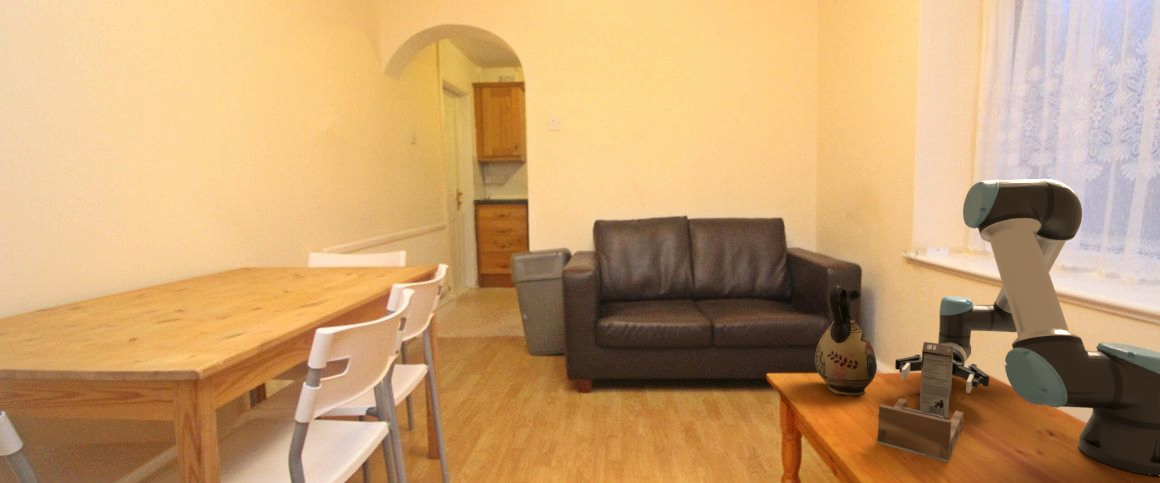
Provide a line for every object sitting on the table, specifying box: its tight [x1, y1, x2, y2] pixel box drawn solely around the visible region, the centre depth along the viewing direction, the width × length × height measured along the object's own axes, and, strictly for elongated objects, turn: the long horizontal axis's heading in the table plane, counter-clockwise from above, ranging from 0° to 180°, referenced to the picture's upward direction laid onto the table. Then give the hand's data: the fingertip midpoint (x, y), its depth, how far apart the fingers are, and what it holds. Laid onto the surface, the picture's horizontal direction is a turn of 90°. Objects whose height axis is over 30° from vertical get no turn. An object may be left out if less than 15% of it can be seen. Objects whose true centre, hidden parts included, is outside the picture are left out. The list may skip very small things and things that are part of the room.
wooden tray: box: [877, 398, 964, 463], centre depth 121 cm, size 22×13×8 cm, turn 138°
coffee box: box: [919, 341, 953, 419], centre depth 133 cm, size 9×6×16 cm
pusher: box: [902, 407, 945, 419], centre depth 120 cm, size 5×8×4 cm, turn 48°
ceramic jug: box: [814, 284, 878, 397], centre depth 146 cm, size 17×15×30 cm
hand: (934, 380), depth 131 cm, fingers open, 13 cm apart
